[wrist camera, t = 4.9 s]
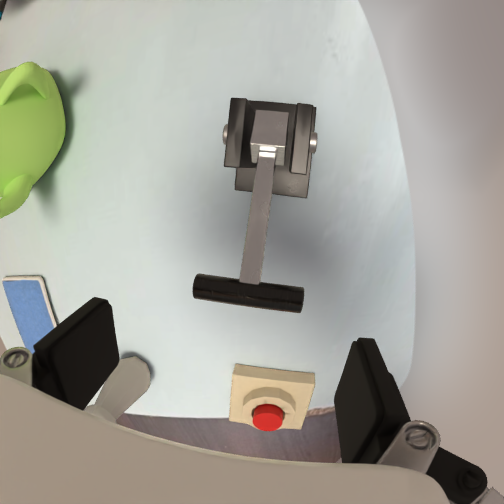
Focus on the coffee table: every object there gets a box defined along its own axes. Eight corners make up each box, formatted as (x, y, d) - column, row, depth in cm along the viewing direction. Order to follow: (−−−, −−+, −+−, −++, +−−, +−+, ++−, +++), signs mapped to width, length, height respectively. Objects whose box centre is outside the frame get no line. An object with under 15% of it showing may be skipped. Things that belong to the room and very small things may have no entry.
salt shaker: (163, 372, 37) (124, 438, 25) (143, 388, 39) (106, 449, 26) (131, 344, 37) (81, 404, 24) (114, 362, 38) (68, 418, 26)
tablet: (4, 275, 37) (-1, 278, 36) (44, 274, 36) (39, 277, 34) (39, 369, 43) (35, 372, 41) (83, 380, 41) (79, 384, 40)
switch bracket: (306, 197, 29) (318, 215, 18) (236, 189, 29) (204, 202, 18) (315, 109, 26) (332, 73, 15) (244, 102, 27) (218, 64, 16)
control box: (314, 373, 34) (316, 394, 31) (300, 418, 37) (300, 439, 33) (235, 363, 35) (229, 383, 31) (231, 410, 38) (226, 430, 34)
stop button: (285, 404, 32) (284, 414, 30) (280, 423, 33) (279, 432, 31) (255, 401, 32) (253, 411, 31) (252, 419, 33) (251, 429, 32)
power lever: (298, 313, 17) (303, 313, 15) (198, 299, 18) (188, 297, 15) (314, 136, 19) (319, 116, 17) (230, 127, 20) (226, 107, 18)
